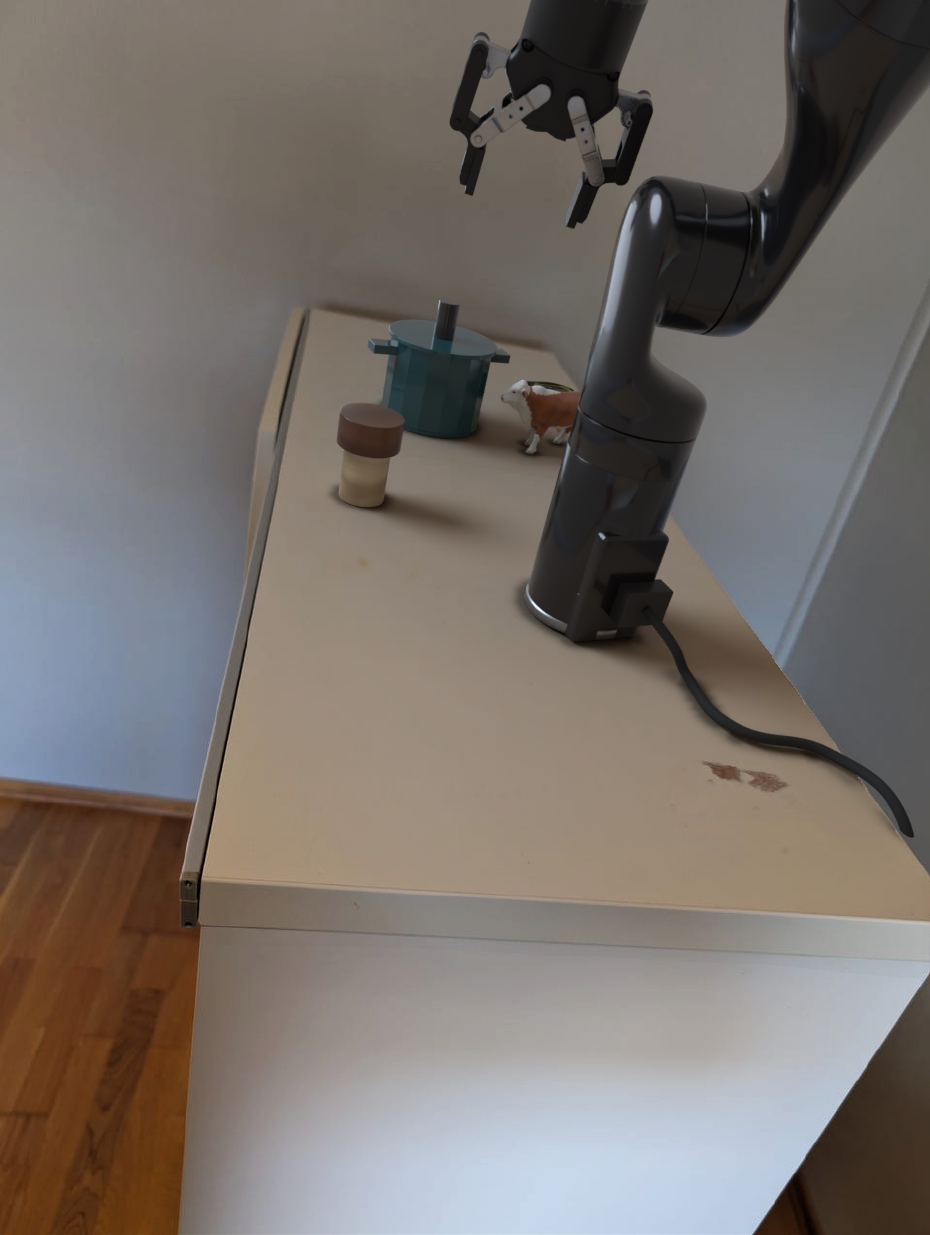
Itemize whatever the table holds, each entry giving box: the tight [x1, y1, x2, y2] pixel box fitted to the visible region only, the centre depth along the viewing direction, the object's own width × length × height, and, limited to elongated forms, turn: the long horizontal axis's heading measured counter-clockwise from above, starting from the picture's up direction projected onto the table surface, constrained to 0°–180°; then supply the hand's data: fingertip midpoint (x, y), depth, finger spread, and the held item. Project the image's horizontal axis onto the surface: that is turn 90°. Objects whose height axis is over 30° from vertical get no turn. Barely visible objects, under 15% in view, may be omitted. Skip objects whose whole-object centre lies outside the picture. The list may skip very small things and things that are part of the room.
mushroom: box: [336, 402, 405, 508], centre depth 81 cm, size 6×6×8 cm
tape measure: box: [525, 380, 575, 392], centre depth 115 cm, size 7×7×4 cm
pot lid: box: [387, 298, 498, 360], centre depth 99 cm, size 13×13×5 cm
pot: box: [367, 336, 511, 439], centre depth 103 cm, size 12×17×10 cm
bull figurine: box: [500, 379, 581, 456], centre depth 102 cm, size 4×13×8 cm, turn 115°
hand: (519, 207), depth 69 cm, fingers open, 8 cm apart
